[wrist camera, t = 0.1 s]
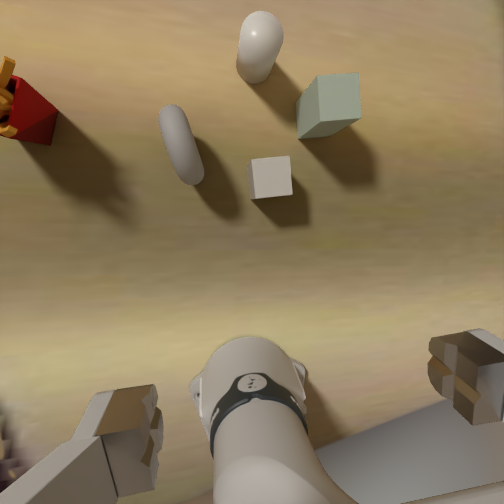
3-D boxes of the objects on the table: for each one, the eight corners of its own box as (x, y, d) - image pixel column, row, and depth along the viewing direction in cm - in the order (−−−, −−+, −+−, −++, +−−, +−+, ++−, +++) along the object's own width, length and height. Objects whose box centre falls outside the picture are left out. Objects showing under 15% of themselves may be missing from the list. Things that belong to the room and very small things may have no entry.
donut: (162, 121, 44) (146, 97, 34) (185, 113, 44) (177, 88, 34) (186, 190, 46) (178, 186, 36) (209, 183, 46) (207, 177, 36)
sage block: (330, 136, 47) (361, 118, 37) (298, 139, 46) (320, 121, 37) (328, 100, 46) (359, 72, 36) (295, 103, 46) (317, 75, 36)
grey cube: (282, 195, 47) (292, 194, 42) (250, 199, 47) (255, 198, 41) (280, 161, 47) (289, 155, 41) (246, 165, 46) (251, 159, 40)
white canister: (272, 82, 45) (285, 56, 37) (238, 85, 44) (243, 59, 36) (269, 44, 44) (281, 9, 36) (234, 46, 43) (238, 12, 36)
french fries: (3, 138, 42) (-112, 103, 27) (16, 76, 41) (-96, 4, 26) (72, 159, 43) (-2, 136, 28) (85, 99, 42) (16, 43, 28)
